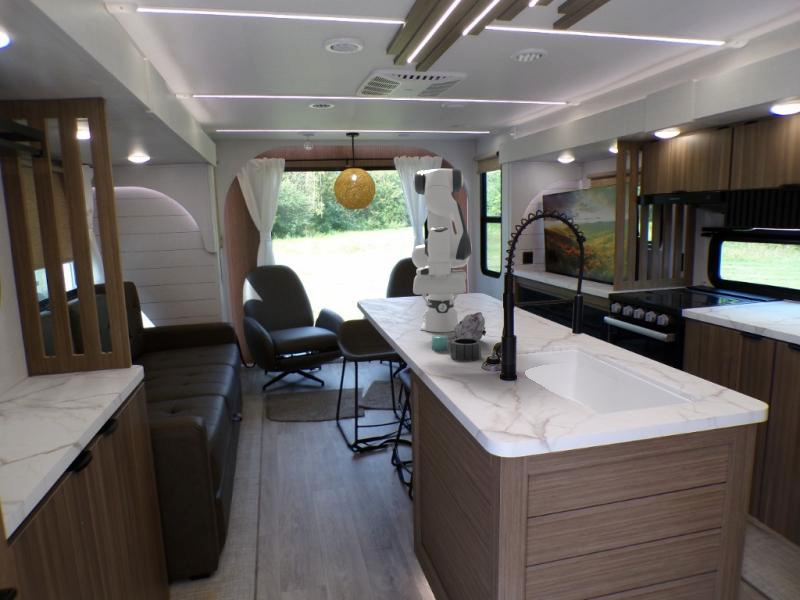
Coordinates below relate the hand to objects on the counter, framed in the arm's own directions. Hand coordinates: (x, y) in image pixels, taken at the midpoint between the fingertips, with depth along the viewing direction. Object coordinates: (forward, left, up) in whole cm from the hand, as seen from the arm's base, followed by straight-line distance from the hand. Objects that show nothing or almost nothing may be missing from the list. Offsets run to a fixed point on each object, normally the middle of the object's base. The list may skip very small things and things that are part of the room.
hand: (439, 305), depth 207 cm
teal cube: (0, 0, -17) cm, 17 cm away
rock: (-11, +13, -18) cm, 24 cm away
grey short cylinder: (+13, +8, -17) cm, 23 cm away
